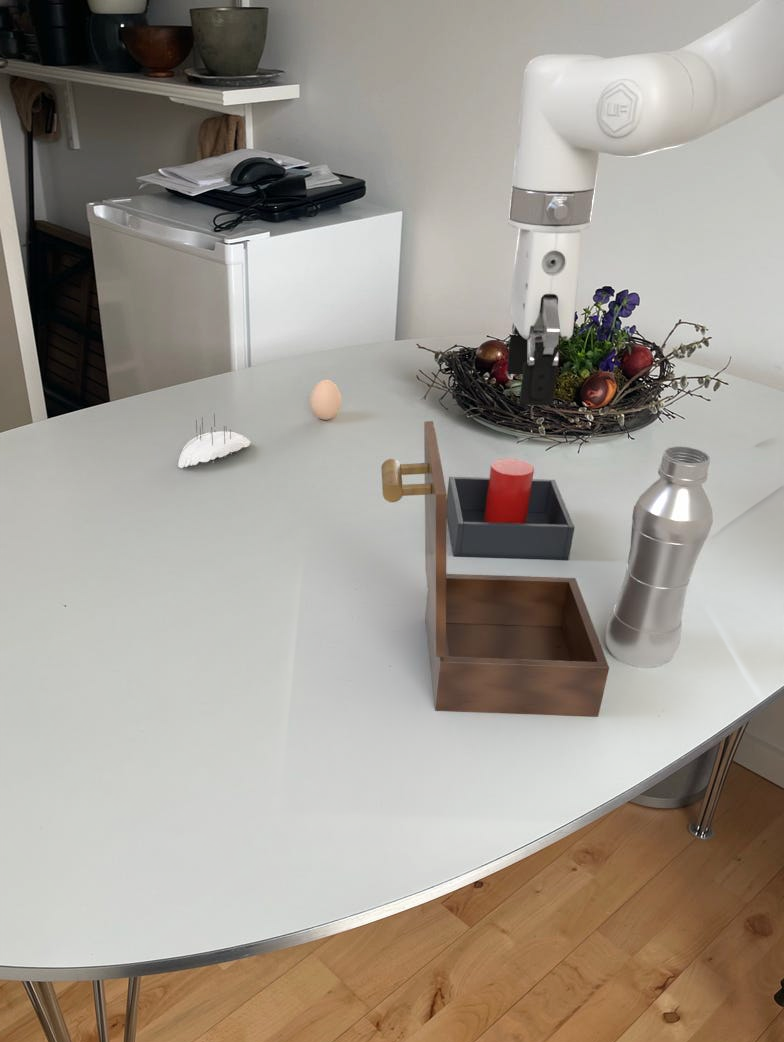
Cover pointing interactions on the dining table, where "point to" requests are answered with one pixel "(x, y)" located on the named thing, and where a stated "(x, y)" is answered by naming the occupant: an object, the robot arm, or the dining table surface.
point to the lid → (427, 523)
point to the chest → (517, 648)
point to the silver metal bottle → (661, 561)
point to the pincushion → (211, 446)
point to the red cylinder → (508, 491)
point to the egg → (325, 400)
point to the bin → (533, 540)
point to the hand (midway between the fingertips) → (528, 388)
